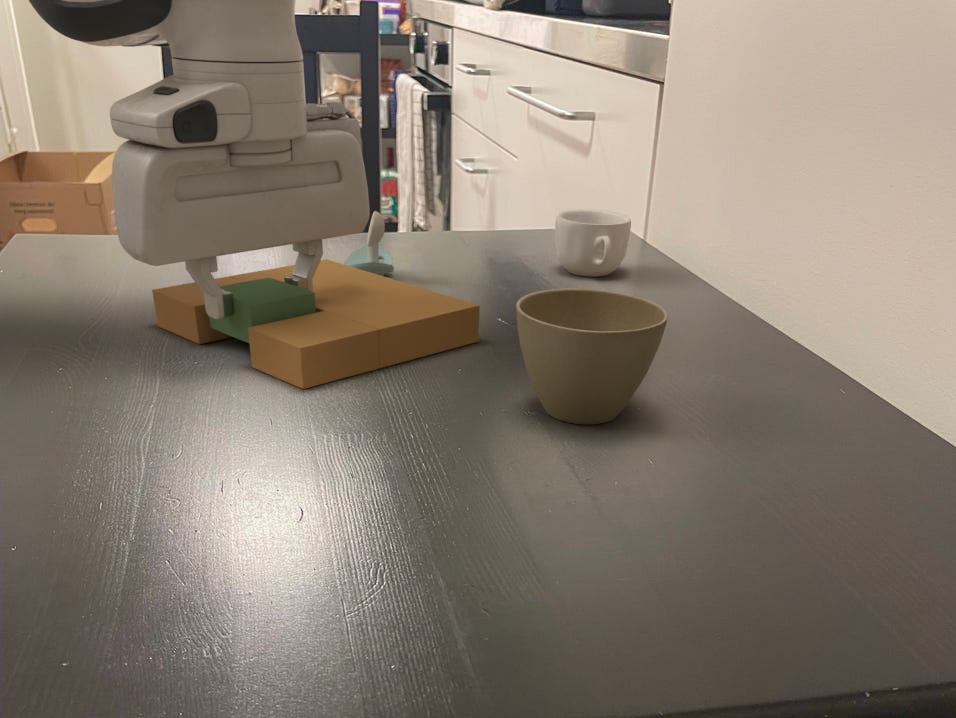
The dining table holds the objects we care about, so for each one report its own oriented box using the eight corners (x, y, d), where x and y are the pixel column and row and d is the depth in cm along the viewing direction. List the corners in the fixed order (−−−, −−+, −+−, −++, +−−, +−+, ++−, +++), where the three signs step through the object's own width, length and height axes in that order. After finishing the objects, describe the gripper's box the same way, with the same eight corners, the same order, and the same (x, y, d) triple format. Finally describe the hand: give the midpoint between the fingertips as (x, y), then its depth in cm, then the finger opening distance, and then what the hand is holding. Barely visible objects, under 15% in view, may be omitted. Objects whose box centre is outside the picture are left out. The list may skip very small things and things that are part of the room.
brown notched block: (157, 326, 81) (151, 289, 79) (328, 292, 92) (326, 259, 90) (303, 389, 69) (300, 347, 68) (478, 341, 80) (480, 304, 78)
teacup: (544, 263, 104) (548, 209, 101) (612, 262, 106) (618, 209, 103) (567, 286, 96) (572, 229, 93) (641, 286, 98) (648, 229, 95)
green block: (209, 328, 76) (204, 288, 75) (272, 314, 80) (269, 276, 78) (254, 345, 73) (249, 305, 71) (317, 330, 77) (315, 291, 75)
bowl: (489, 423, 65) (494, 315, 61) (537, 379, 73) (543, 281, 69) (633, 449, 62) (648, 338, 58) (667, 401, 70) (682, 299, 66)
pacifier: (333, 289, 93) (395, 287, 94) (327, 219, 90) (392, 218, 90) (334, 270, 99) (392, 269, 100) (329, 204, 96) (389, 203, 96)
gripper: (331, 97, 76) (340, 279, 84) (85, 109, 63) (122, 322, 71) (384, 104, 72) (388, 294, 80) (134, 119, 60) (167, 342, 68)
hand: (261, 308), depth 75 cm, fingers closed on green block, 6 cm apart
